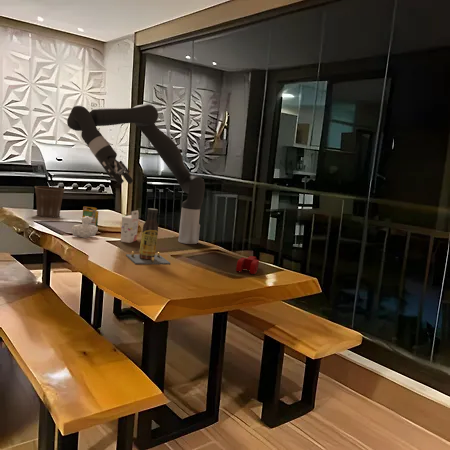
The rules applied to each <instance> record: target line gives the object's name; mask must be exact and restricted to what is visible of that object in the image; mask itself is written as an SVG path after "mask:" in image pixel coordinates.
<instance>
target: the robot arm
mask: <svg viewBox="0 0 450 450" xmlns="http://www.w3.org/2000/svg"><path fill="white" fill-rule="evenodd" d="M158 119H159V112H158V110H157V108H156V107H155V106H154V105H152V104H149V103H144V104H137V105H135V106H133V107H130V108H129V107H128V108H127V107H126V108H116V107H115V108H112V107H111V108H108V107H107V108H106V107H105V108H93V109H91V110H90V111H89V110H88V108H86V107H84V106H83V105H80V104H79V105H77V104H76V105H74V106H73V107H72V108H71V110H70V113H69V115H68V117H67V120H66V123H67V126H68V128H69V129H71V130H72V131H77V132H81V138H82V141H84V143H85V145H86V146H87V147H88V148H89V150H90V152H91V153H92V155H93V156H94V157H95V158H96V160H97V161H98V163H99V164H100V165H101V167H102V168H103V169H104V171H105V172H106V174H107V175H108V176H109V177H112V178H113V179H114V180H115V181H116V182H117V184H118V185H122V184H123V183H124V182H125V181H126V182H127V183H128V185H131V184H132V183H133V182H134V180H133V178H132V176H130V174H129V173H130V170H129V168H127V166H126V165H125V164H124V162H123V161H122V160H117V156H118V154H117V152H116V150H115V149H114V148H113V146H112V145H111V144H110V143H109V141H108V140H107V138H105V137H104V136H103V135H102V133H101V132H100V130H98V127H104V126H117V125H124V124H135V126H136V127H137V128H138V129H139V130H140V131H141V132H142V134H143V135H144V136H145V137H146V138H147V140H148V142H149V143H150V144H151V146H152V147H153V148H154V150H155V151H156V153H157V154H158V155H159V157H160V158H161V159H162V161H163V163H164V164H165V165H166V166H167V168H168V169H169V170H170V172H171V173H172V174H173V176H174V177H175V179H176V181H177V183H178V185H179V187H180V189H181V190H182V191H183V192H184V193H185V194H187V198H186V199H185V200H184V201H182V203H181V210H180V211H181V212H180V221H179V229H178V230H179V232H178V239H177V240H178V242H179V243H180V244H187V245H195V244H197V243H198V244H199V240H200V228H201V224H200V213H201V207H202V205H203V202H204V198H205V197H204V196H205V191H206V184H205V180H204V179H203V178H202V177H201V176H196V175H192V174H191V173H190V171H189V170H188V169H187V167H186V166H185V164H184V160H183V159H184V158H183V155H182V153H181V152H182V151H181V150H180V148H179V147H178V146H177V144H176V143H175V142H174V140H173V139H172V138H171V137H169V135H167V133H164V132H163V131H162V130H161V129H160V128H159V127H158V126H157V124H156V122H157V121H158ZM122 177H123V178H122Z"/></svg>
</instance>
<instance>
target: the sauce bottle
mask: <svg viewBox="0 0 450 450" xmlns="http://www.w3.org/2000/svg"><path fill="white" fill-rule="evenodd" d="M158 213H159V209H157V208H151V207H150V208H147V216H146V220H145V222H143V225H142V231H141V238H140V239H141V240H140V247H139V254H140V255H139V257H140V258H141V259H147V260H150V259H152V257H154V256H155V255H156V251H157V242H158V237H159V234H158V233H159V224H158V222H157V221H158V220H157V217H158Z"/></svg>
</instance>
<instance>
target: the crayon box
mask: <svg viewBox="0 0 450 450" xmlns="http://www.w3.org/2000/svg"><path fill="white" fill-rule="evenodd" d="M85 216H89V217H90V218H93V220H91V223H89V224H90V225H94V226H96V227H98V222H99V211H98V208H97V207H93V206H83V207H82V216H81V217H82V218H83V217H85ZM82 222H83V220H81V225H82V224H83V223H82Z"/></svg>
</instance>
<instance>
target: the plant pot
mask: <svg viewBox="0 0 450 450" xmlns="http://www.w3.org/2000/svg"><path fill="white" fill-rule="evenodd" d="M34 189H35V196H36V197H35V198H36V199H35V201H36V216H39V217H42V218H43V217H44V218H50V217H51V218H58V217H60V214H61V207H62V202H63V197H64V192H65V190H66V188H62V187H57V186H56V187H55V186H49V185H48V186H46V185H43V186H42V185H38V186H37V185H35V186H34Z"/></svg>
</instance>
